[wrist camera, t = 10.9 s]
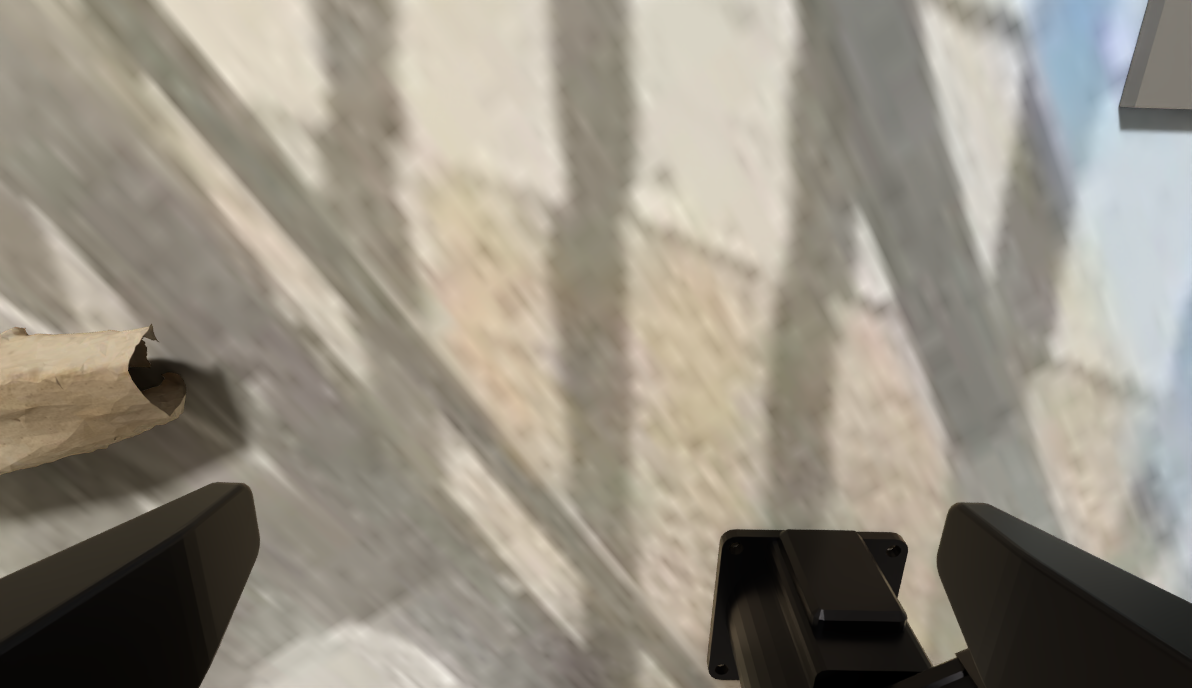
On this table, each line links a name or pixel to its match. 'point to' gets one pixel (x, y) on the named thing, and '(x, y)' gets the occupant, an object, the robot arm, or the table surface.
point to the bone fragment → (76, 394)
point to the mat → (1162, 58)
